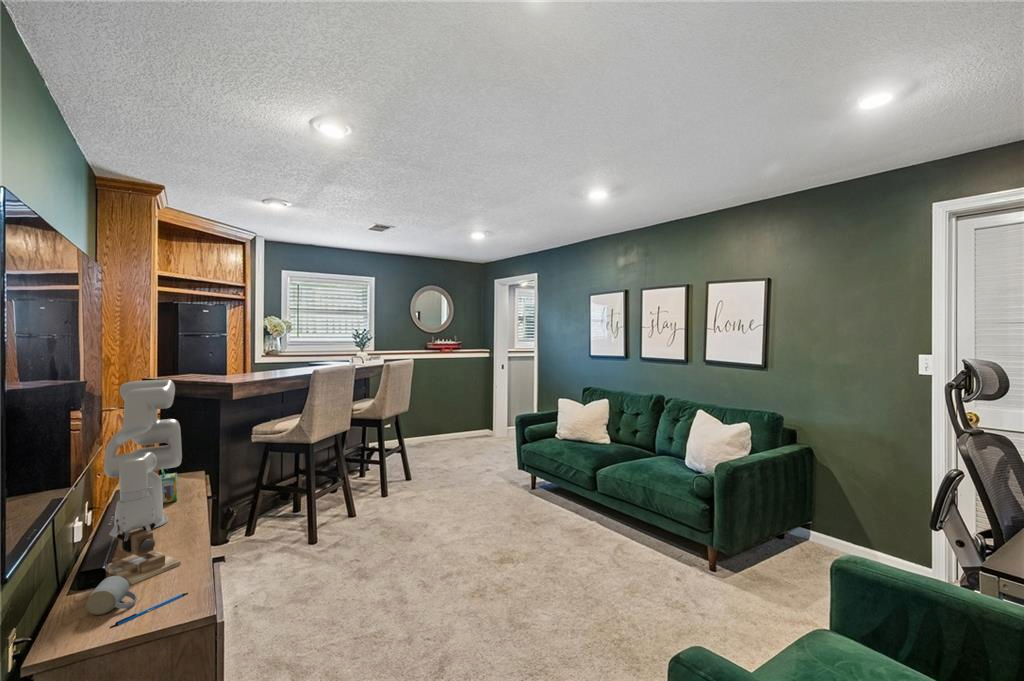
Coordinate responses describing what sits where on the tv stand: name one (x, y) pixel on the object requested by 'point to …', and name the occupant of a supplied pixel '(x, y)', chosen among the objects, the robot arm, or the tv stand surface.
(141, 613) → the pen
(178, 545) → the tv stand surface
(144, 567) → the jig
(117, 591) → the ceramic mug
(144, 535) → the brown wooden block
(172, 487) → the chalk box
